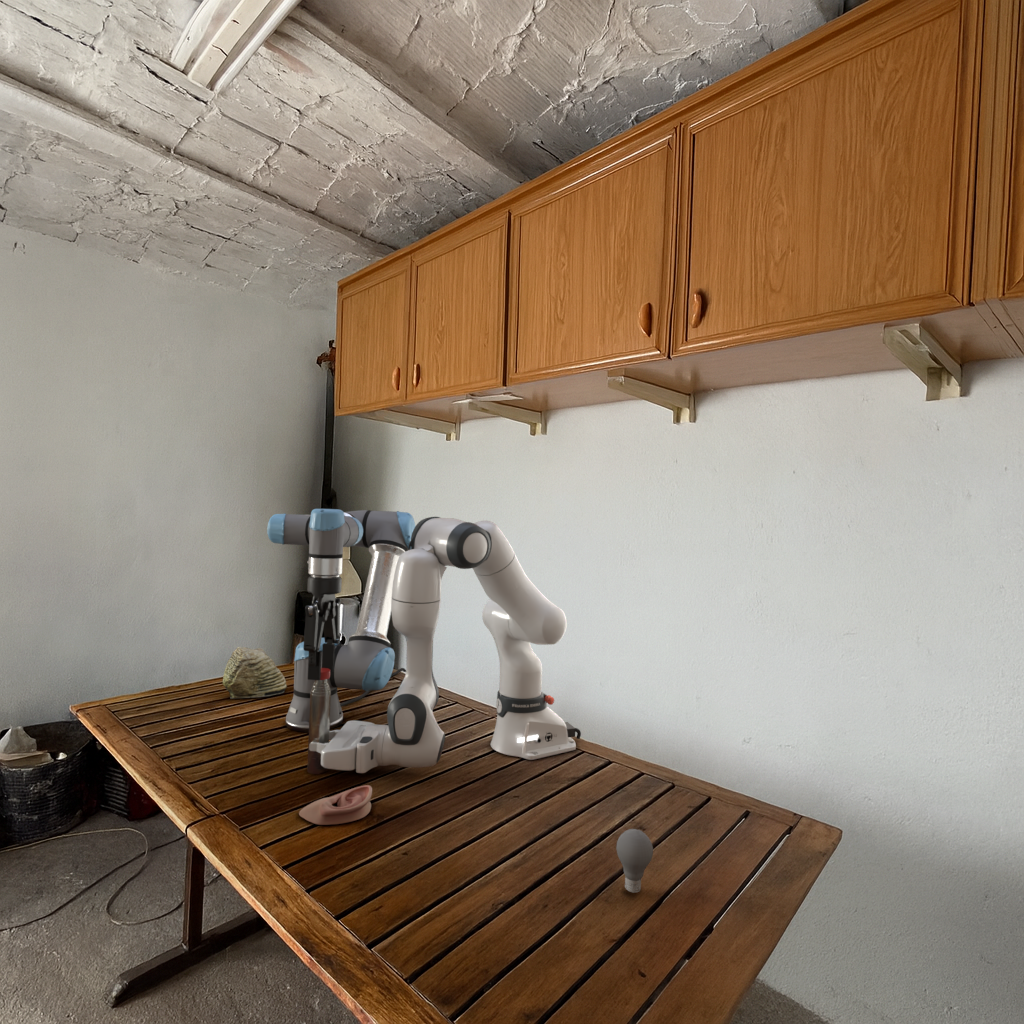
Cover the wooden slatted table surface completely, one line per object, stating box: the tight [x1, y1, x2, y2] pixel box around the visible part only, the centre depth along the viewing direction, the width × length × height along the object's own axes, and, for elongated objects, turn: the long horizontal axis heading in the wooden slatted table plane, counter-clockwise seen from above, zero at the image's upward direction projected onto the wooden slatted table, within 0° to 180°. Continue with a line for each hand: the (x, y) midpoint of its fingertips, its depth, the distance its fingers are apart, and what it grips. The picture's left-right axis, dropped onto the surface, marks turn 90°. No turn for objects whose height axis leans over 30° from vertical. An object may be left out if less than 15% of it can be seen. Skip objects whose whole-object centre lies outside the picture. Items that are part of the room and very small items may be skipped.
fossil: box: [222, 646, 288, 699], centre depth 198 cm, size 9×18×15 cm, turn 132°
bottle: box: [306, 679, 331, 775], centre depth 146 cm, size 5×5×23 cm
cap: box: [320, 668, 330, 680], centre depth 146 cm, size 4×4×2 cm
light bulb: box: [615, 828, 654, 894], centre depth 106 cm, size 6×6×10 cm
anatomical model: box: [298, 784, 373, 826], centre depth 127 cm, size 13×4×12 cm
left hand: (321, 675), depth 146 cm, fingers open, 6 cm apart
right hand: (314, 740), depth 147 cm, fingers closed on bottle, 4 cm apart
